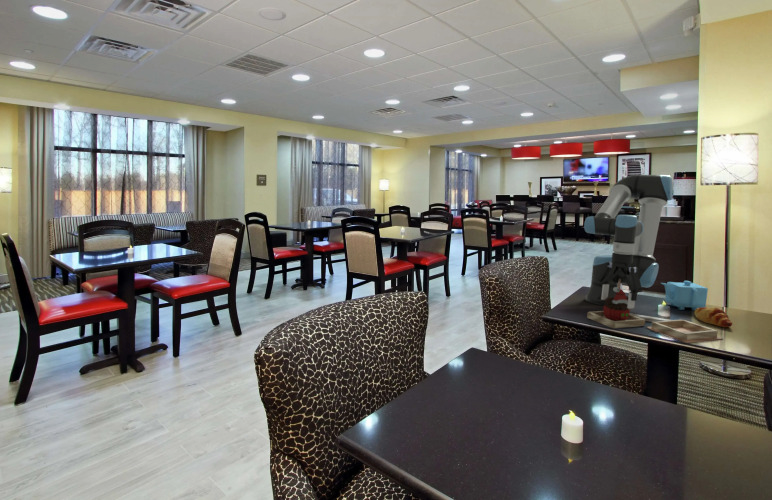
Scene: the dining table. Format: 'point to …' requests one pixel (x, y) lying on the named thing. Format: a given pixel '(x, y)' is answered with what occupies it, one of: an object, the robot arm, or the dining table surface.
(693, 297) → the teapot
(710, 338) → the square wooden frames
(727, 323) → the croissant
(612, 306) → the cake
